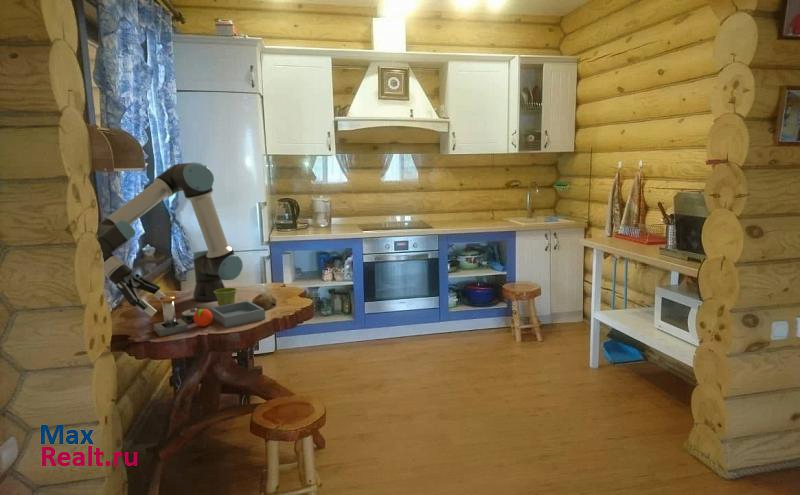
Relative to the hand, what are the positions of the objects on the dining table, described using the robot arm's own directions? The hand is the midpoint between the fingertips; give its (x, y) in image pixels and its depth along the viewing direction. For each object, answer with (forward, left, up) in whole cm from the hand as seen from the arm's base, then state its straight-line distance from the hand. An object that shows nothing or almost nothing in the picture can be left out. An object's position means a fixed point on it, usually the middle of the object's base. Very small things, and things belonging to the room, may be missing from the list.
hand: (162, 308), depth 182 cm
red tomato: (+4, +13, -9) cm, 16 cm away
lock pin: (+1, +2, -9) cm, 9 cm away
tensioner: (-4, +8, -9) cm, 12 cm away
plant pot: (-13, +28, -9) cm, 33 cm away
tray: (+3, +27, -9) cm, 29 cm away
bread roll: (-6, +42, -9) cm, 43 cm away
